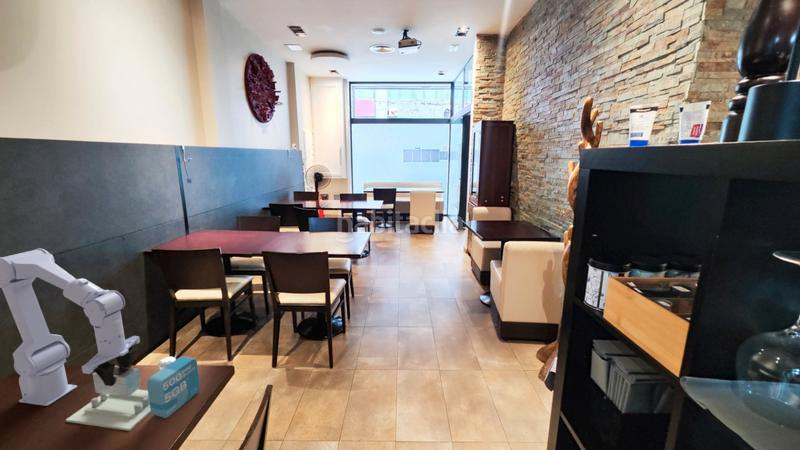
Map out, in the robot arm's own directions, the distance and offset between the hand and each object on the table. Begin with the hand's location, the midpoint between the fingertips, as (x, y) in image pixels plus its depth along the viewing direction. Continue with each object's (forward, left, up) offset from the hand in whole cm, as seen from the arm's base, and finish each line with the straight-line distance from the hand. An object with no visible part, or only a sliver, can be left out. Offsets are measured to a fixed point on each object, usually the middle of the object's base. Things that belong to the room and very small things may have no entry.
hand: (117, 379), depth 91 cm
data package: (+14, +3, -9) cm, 17 cm away
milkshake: (+6, +10, -9) cm, 15 cm away
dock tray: (0, -1, -9) cm, 9 cm away
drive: (0, 0, -3) cm, 3 cm away
